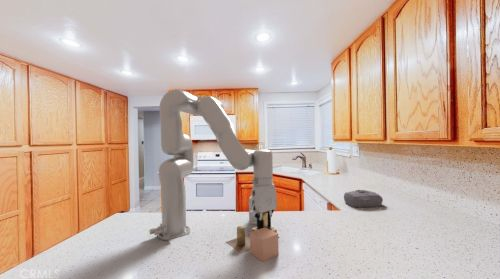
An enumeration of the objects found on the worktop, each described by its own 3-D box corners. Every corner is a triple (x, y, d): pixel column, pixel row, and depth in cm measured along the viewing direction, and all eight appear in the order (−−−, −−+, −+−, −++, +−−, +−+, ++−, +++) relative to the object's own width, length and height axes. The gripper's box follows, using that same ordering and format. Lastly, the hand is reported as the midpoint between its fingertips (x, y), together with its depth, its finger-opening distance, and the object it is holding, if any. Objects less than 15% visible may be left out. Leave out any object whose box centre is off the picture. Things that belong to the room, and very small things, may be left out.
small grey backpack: (355, 209, 115) (389, 208, 116) (355, 194, 115) (389, 192, 116) (340, 201, 130) (371, 200, 131) (340, 188, 130) (371, 186, 131)
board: (241, 256, 70) (240, 235, 70) (225, 245, 78) (225, 225, 78) (279, 240, 81) (279, 221, 81) (262, 231, 89) (262, 214, 89)
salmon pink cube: (263, 265, 66) (262, 239, 65) (250, 256, 71) (250, 232, 71) (278, 258, 69) (278, 233, 69) (265, 249, 75) (264, 227, 75)
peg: (263, 235, 81) (263, 212, 81) (258, 232, 83) (258, 210, 83) (269, 233, 83) (269, 210, 83) (264, 230, 85) (264, 208, 85)
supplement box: (265, 227, 94) (264, 198, 94) (248, 226, 95) (248, 198, 95) (267, 220, 101) (266, 194, 101) (251, 220, 102) (251, 193, 102)
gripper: (252, 185, 75) (253, 237, 75) (284, 179, 85) (285, 225, 85) (240, 182, 81) (241, 230, 81) (272, 177, 91) (272, 219, 91)
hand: (264, 227), depth 83 cm, fingers closed on peg, 3 cm apart
